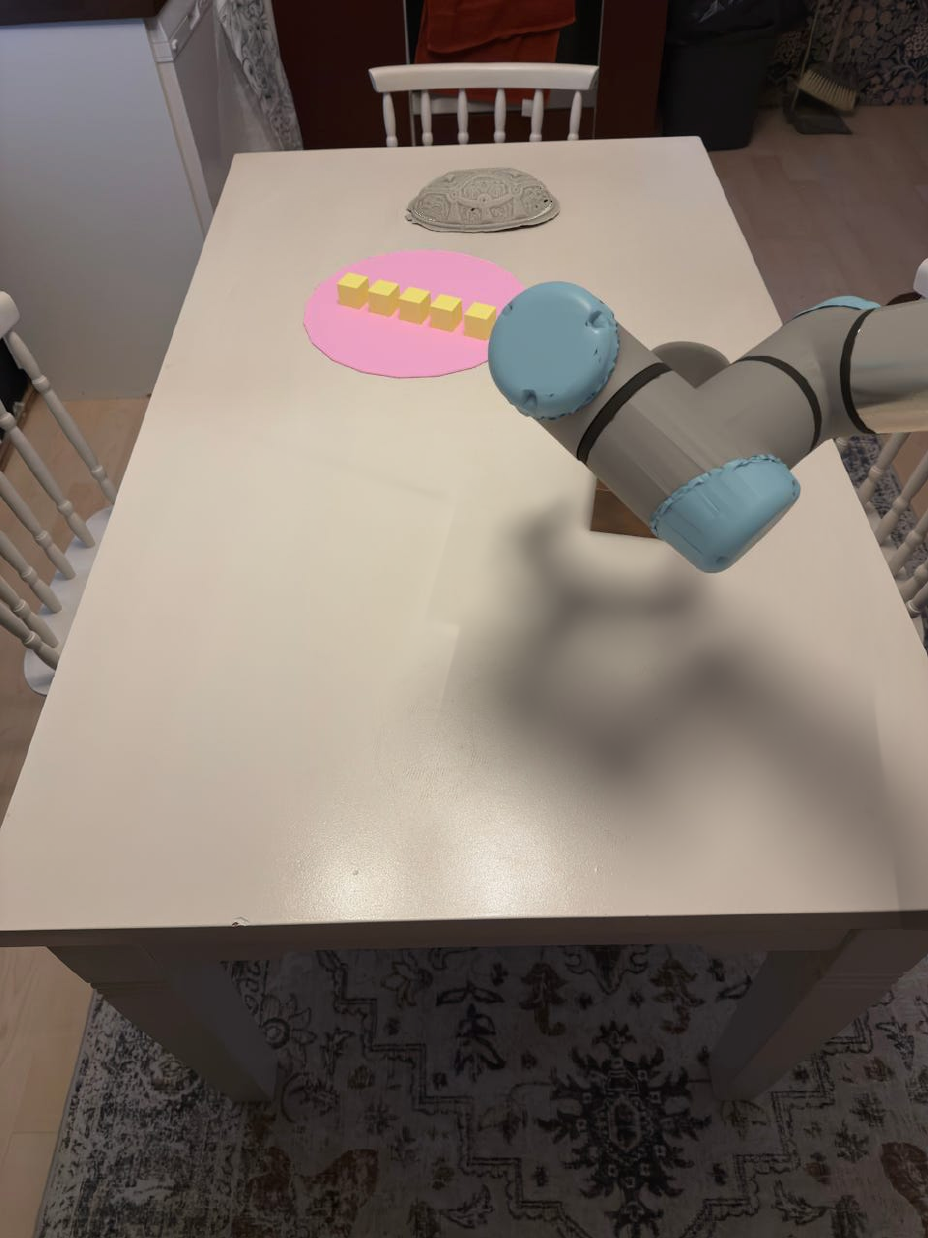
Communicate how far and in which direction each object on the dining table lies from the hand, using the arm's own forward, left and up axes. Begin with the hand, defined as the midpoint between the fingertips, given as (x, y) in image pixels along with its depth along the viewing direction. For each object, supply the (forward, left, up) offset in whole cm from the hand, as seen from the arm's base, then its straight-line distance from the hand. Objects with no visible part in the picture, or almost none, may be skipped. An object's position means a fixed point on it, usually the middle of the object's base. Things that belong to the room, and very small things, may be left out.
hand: (654, 442), depth 80 cm
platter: (+33, -38, -12) cm, 52 cm away
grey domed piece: (+29, -68, -12) cm, 75 cm away
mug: (-2, -6, -6) cm, 9 cm away
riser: (-2, -6, -12) cm, 14 cm away
